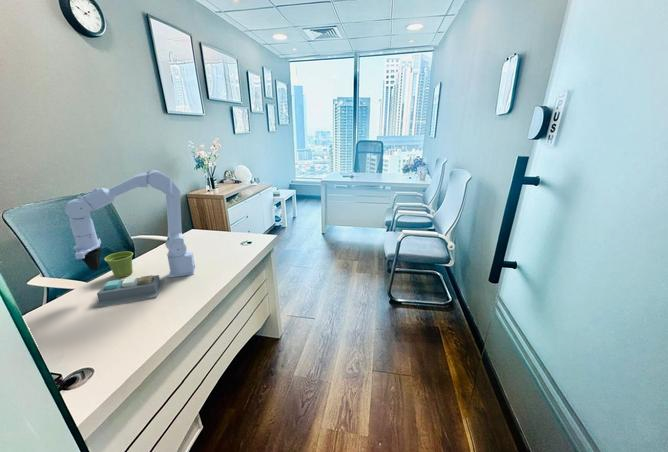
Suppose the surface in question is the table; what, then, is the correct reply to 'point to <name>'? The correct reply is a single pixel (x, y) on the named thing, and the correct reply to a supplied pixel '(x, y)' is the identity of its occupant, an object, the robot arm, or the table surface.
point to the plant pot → (120, 263)
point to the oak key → (145, 280)
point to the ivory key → (129, 282)
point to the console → (129, 293)
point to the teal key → (113, 284)
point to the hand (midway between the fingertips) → (94, 269)
